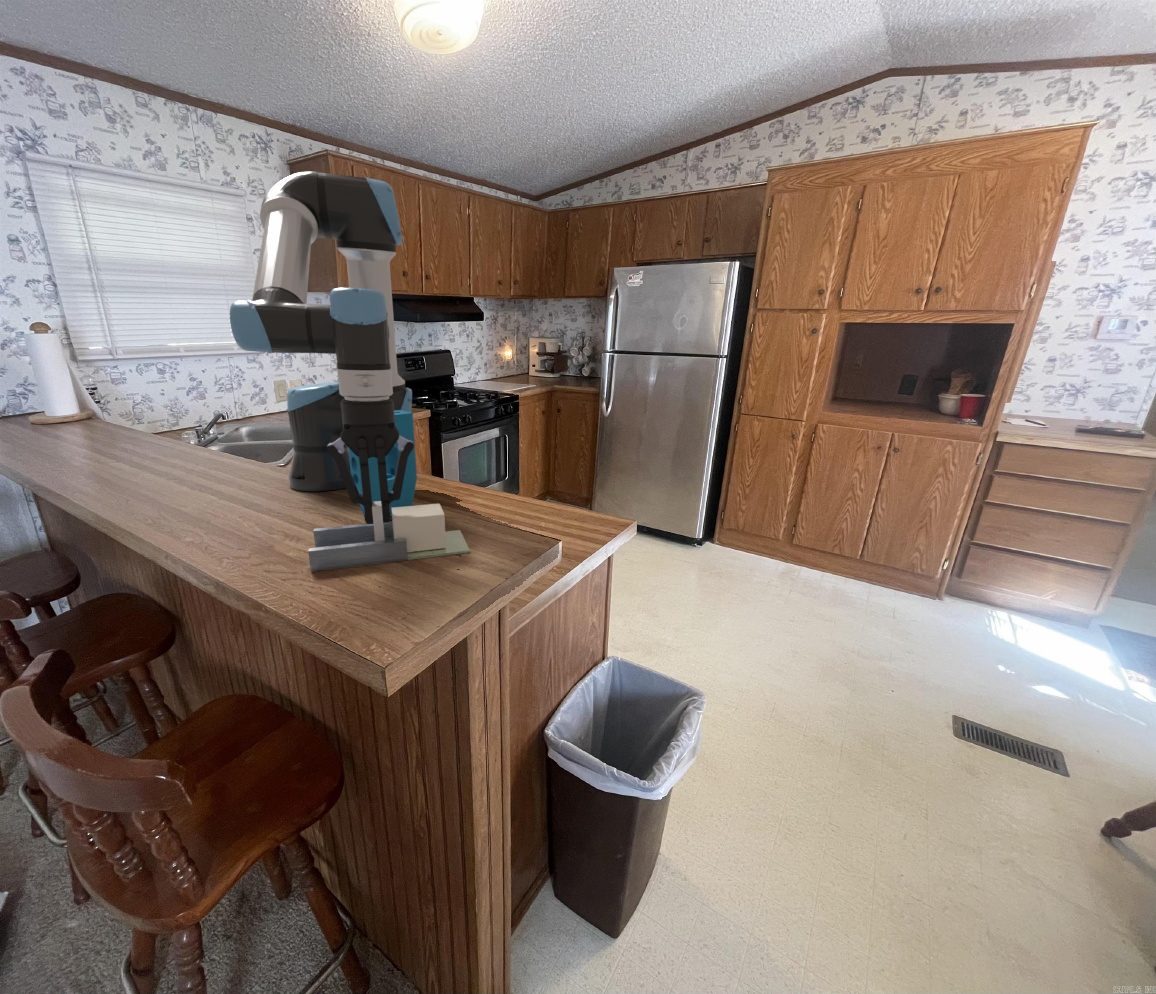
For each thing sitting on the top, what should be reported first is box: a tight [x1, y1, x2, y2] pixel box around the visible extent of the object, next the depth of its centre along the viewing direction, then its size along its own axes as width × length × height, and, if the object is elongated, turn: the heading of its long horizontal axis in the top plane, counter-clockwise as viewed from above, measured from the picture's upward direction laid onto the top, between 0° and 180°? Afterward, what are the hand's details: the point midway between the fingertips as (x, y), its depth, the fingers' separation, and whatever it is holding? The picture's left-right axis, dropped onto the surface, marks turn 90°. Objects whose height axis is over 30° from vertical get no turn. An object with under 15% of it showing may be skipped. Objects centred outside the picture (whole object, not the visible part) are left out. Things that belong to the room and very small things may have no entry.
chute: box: [307, 520, 471, 573], centre depth 85 cm, size 10×24×3 cm, turn 112°
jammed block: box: [391, 503, 446, 552], centre depth 86 cm, size 6×8×6 cm
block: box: [348, 410, 418, 517], centre depth 100 cm, size 12×5×20 cm, turn 141°
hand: (380, 540), depth 84 cm, fingers closed
